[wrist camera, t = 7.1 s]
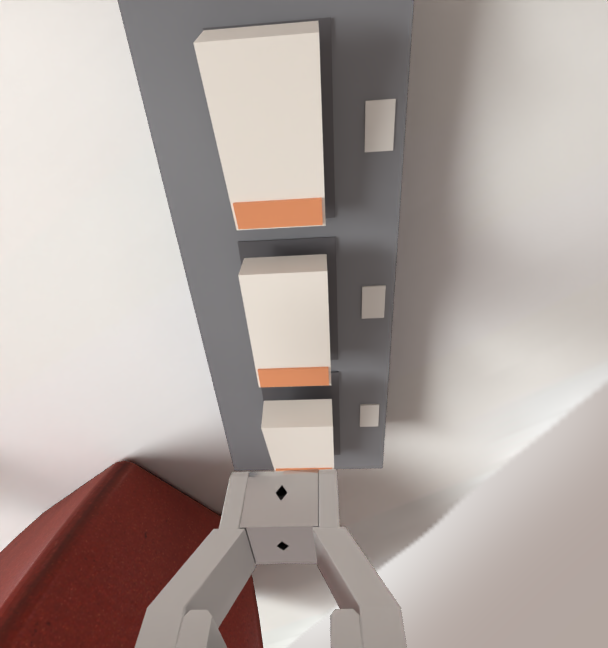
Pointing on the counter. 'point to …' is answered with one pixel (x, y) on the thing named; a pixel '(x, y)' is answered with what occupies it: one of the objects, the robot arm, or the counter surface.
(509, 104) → the counter surface
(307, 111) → the block
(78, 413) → the counter surface
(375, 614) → the robot arm
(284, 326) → the rocker
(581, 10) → the counter surface
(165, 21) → the rocker switch panel
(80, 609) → the plant pot
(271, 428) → the rocker
